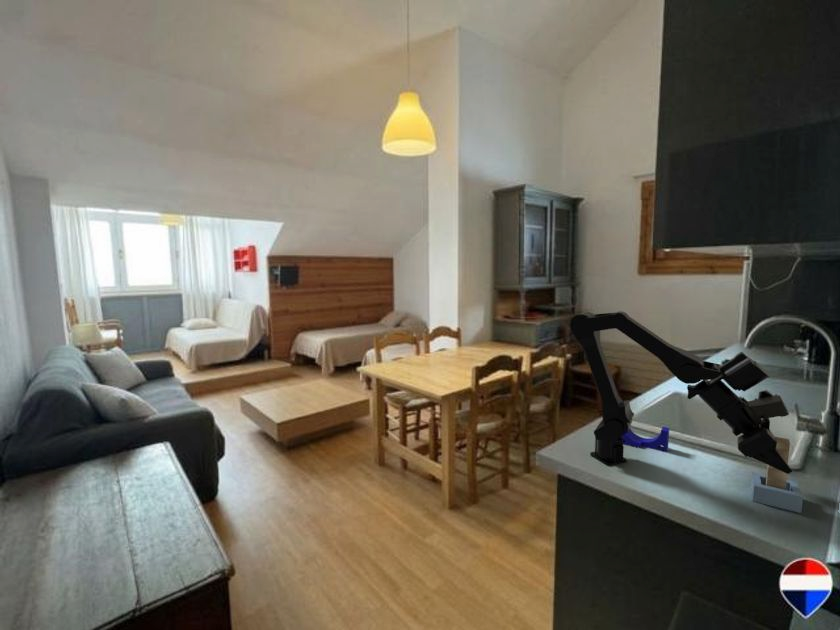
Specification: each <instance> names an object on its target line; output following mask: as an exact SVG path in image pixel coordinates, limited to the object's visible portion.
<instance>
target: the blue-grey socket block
mask: <svg viewBox="0 0 840 630" xmlns="http://www.w3.org/2000/svg"><path fill="white" fill-rule="evenodd" d="M750 473H751V476H750V486H749V487H750V492H751V498H752V500H751V501H752V502H755V503H759V504H763V505H767V506H771V507H775V508H779V509H783V510H787V511H790V512H793V513H799V514H802V510H803V509H802V508H803V501H804V496H803V493H802V491H801V488H800V485H799V483H798V481H795V480H791V479H787V480H786V490H783V489H779V488H775V487H771V486H766V476H767V474H763V473H760V472H754V471H751V472H750Z"/></svg>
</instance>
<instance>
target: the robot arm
mask: <svg viewBox="0 0 840 630" xmlns="http://www.w3.org/2000/svg"><path fill="white" fill-rule="evenodd" d="M568 326H569V329H570V332H571V334H572V335H573V337H574V339H575V340H576V341H577V343H578V344H579V346H580V347H581V348H582V349H583V351H584V355H585V358H586V360H587V364H588V367H589V369H590V372H591V374H592V378H593V380H594V384H595V386H596V389H597V392H598V394H599V398H600V402H601V418H602V419H601V420H600V422H599V423H598V425H597V427H595V429H594V431H593V435H594V438H595V440H594V442H595V443H594V451H592V452H589V455H590V456H592V457H593V458H595V459H596V460H597V461H600V462H602V463H603V464H605V465H606V466H611V465H615V464H620V463H621V464H622V463H625V462H627V461H628V459H627V458H626V457H624V448H625V447H624V444H623V439H622V438H621V436H623V435H625V434H626V433H627V431H628V429H629V428H630V427H631V425H632V424H633V423H632V422H633V419H634V418H633V417H634V415H635V413H634V412H633V411H632V409H631V403H630V400H629V399H627V400H623V399H622V398H621V397H620V395H619V393H618V390H617V387H616V384H615V382H614V379H613V376H612V373H611V370H610V368H609V365H608V361H607V358H606V356H605V353H604V350H603V347H602V345H601V331H606V330H612V329H616V330H618V331H619V332H621V333H622V334H623V335H625V336H626V337H627V338H629V339H631V340H632V341H634V342H635V343H636V344H638V345H639V346H640V347H641V348H643V349H644V350H646V351H648V352H649V353H651V354H652V355H654V356H655V357H657V358H658V360H660V361H661V362H662V364H663V365H664V366H665V367H666V368H667V370H668V371H669V372H671V373H672V375H673V376H675V377H676V378H677V379H678V380H679V381H680V382H682V383H684V384H687V387H686V389H687V399H688V400H691V399H693V398H695V397H696V396H698V397H699V398H700V399H701V400H702V401H703V402H704V403H705V404H706V405H708V407H709V408H710V409H711V410H712V411H714V413H715V414H716V417H717V419H719V420H720V421H722V420H723V422H725V424H727V426H728V427H730V428H731V431H732V434H733V435H734V436H735V437H737V439H736V440H737V441H736V443H737V445H736V446H737V450H738V451H739V452H740V453H741V454H742V455H743V456H744V457H745V458H749V459H754V460H757V461H759V462H761V463H764V464H766V465H770V466H772V467H774V468H776V469H778V470H780V471H782V472H784V473H787V475H789V474H791V473H793V469H792V468H791V467H790V465H789V463H788V464H787V463H786V461H785V460H784V459H783V457H782V456H781V455H780V453H779V452H778V451H777V449H776V445H777V440H776V438H775V437H776V436H775V435H774V433H773V432H772V431H771V429H770V428H771V427H770V425H771V420H770V418H771V419H773V418H776V417H781V418H782V417H787V416H789V415H790V413H789V411H788V409H787V407H786V404H785V403H784V401H783V398H782V396H781V395H779V394H776V393H775V394H773V393H771V392H770V391H768V390H767V389H766V390H761V391H759V392H758V398H757V397H756V398H754V399H752V400H749V401H748V400H747V399H746V398H745V397H743V396H742V397H741V396H738V395H737V394H736V393H735V392H734V391H738V392H740V391H742V392H747V391H748V390H750V389H751V388H753V387H755V386H756V385H758V384H760V383H762V382H763V381H766V380H767V379H769V378H770V377H771V375H770V374H769V373H768V372H767V370H766V369H765V368H763V367H762V366H761V365H760V364H759V363H758V362H757V361H756V360H753V359H752V358H751V357H749V356H748V355H746V354H745V353H744V351H740V352H739V353H737V354H735V356H733V357H732V358H731V359H730V360H728V361H726V362H725V363H724V364H720V363H716V362H712V361H711V362H710V361H706V360H703V359H702V358H701V357H700V356H698V355H696V354H694V353H692V352H689V351H687V350H686V349H683V348H680V347H678V346H676V345H673V344H671V343H669V342H668V341H666V340H665V339H663V338H662V337H660V336H659V335H658V334H656V333H655V332H653V331H651V330H649V329H648V328H647V327H645V326H644V325H643V324H642V323H640V322H638V321H636V320H635V319H634V318H632V317H631V316H629V315H628V313H626V312H625V311H622V310H620V311H616V312H608V313H592V312H590V311H583V312H580V313H578V314H576V315H574V316H573V317H572V318H571V319H570V321H569V325H568ZM722 380H723V381H722ZM692 384H693V385H692ZM694 384H695V385H694ZM730 387H731V388H730ZM733 390H734V391H733Z"/></svg>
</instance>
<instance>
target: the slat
mask: <svg viewBox="0 0 840 630" xmlns="http://www.w3.org/2000/svg"><path fill="white" fill-rule="evenodd" d="M774 437H775V438H776V440H777V445H776V449H777V451H778V452H779V453H780V455H781V456H782V457H783V459H784V460H785V461H786V463H787V464H788V465H789V455H790V447H791V446H790V444H791V441H790V439H789V438H784V437H779V436H774ZM766 465H767V464H766ZM766 475H767V476H766V486H771V487H775V488H779V489H783V490H786V480H788V479H787V478H788V474H787V473H784V472H782V471H780V470H778V469H776V468H774V467H772V466H770V465H767V467H766Z"/></svg>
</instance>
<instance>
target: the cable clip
mask: <svg viewBox="0 0 840 630" xmlns="http://www.w3.org/2000/svg"><path fill="white" fill-rule="evenodd" d="M621 438H622V439H623V445H626V446H632V447H634V446H635V447H634V448H638V447H639V448H640V449H641V448H642V447H643V446H644V448H648V449H652V450H656V451H660V452H664V453H667V451H668V449H669V441H670V427H666V426H662V428H661V431H660V433H659V434H658V435H657V436H655V437H652V438H651V437H650V438H646V437H642V436H640V435H637V434H636V433H635V432H634V431H633V430H632V429H631V428H630V427H629V429H628V431H627V433H626V434H625V435H623V436H621ZM639 448H638V449H639Z"/></svg>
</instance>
